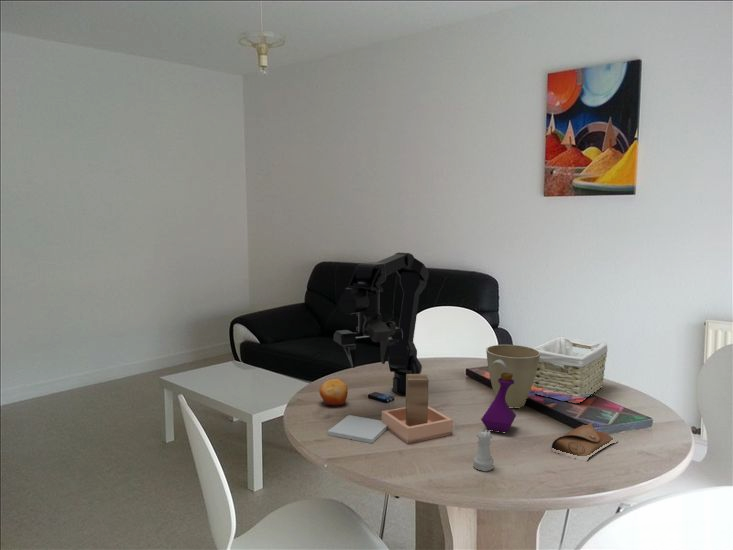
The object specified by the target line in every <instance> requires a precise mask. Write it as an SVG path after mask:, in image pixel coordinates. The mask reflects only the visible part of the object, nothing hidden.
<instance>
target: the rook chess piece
mask: <svg viewBox="0 0 733 550" xmlns="http://www.w3.org/2000/svg"><path fill="white" fill-rule="evenodd" d="M491 432H492V431H489V430H488V429H479V430H478V433H477V434H476V437H477V439H478V441H477V444H478V445H477V453H476V454H475V456H474V457H473V464H472V465H473V467H474V468H475V470H477V469H478V471H479V470H482V471H481V472H489V471H488V470H490V471H492V470H493V469H494V467H495V466H494V463H495V462H494V459H493V457H492V455H491V440H492V438H493V435H492V433H491ZM491 469H492V470H491Z"/></svg>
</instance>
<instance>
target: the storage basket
mask: <svg viewBox="0 0 733 550" xmlns="http://www.w3.org/2000/svg"><path fill="white" fill-rule="evenodd" d="M574 347H575V348H580V349H585V350H586V349H587V350H590V351H589V352H588V353H586V354H585V353H584V354H583V353H579V352H574V351H573V348H574ZM532 348H533V349H535V350H538V351H539V352H540V358H539V363H538V367H537V371H536V375H535V378H534V382H533V385H532V386H533V388H534V387H536V388H542V389H544V390H549V391H553V392H558V393H563V394H567V395H573V396H576V397H581V395H585V394H590V393H591V394H593V393H594V392H595V393H597V392H598V391H599V390H600V388H601V386H602V387H604V386H605V385H604V379H605V377H604V376H605V370H606V361H607V359H606V358H607V355H608V354H607V353H608V345H607V343H605V342H599V341H595V340H594V341H593V340H588V339H587V340H586V339H582V338H581V339H580V338H573V337H566V336H558V337H556V338H553V339H551V340H548V341H547V342H544V343H542V344H540V345H537V346H535V347H532ZM601 389H602V388H601ZM597 390H598V391H597ZM595 393H594V394H595ZM594 394H593V395H594Z"/></svg>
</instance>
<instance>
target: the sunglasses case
mask: <svg viewBox="0 0 733 550" xmlns="http://www.w3.org/2000/svg"><path fill="white" fill-rule="evenodd" d="M589 421H590V422H589ZM589 421H588V422H589V423H590V424H588V425H584V424H582V425H580V426H578V427H576V428H574V429H572V430H570V431H569V432H567V433H564V434H563V435H560V436H559V437H558V438H555V440H554V441H553V442H552V444H551V449H552V448H554V449H556V450H560V451H562V452H566V453H570V454H573V455H577V456H587V455H590V454H591V453H593V452H594V451H595V450H597V449H599V448H600V447H602V446H603V445H605V444H607V443H609V442H610V441H611V440H613V437H612V436H611V435H609V434H607V433H606V432H605V431H603V432H596V431H595V429H594V427H593V426H592V424H593V423H592V420H589ZM591 423H592V424H591ZM604 432H605V433H604Z"/></svg>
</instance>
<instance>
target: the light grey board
mask: <svg viewBox="0 0 733 550" xmlns="http://www.w3.org/2000/svg"><path fill="white" fill-rule="evenodd" d="M386 431H388V430H387V425H386V424H384V423H383V422H382V420H379V419H373V418H368V417H362V416H357V415H350V414H348V415H347V416H345V418H343V419H341V420H340V421H339V422H338V423H336V424H335V425H334V426H332V427H331V428H329V430H327V436H331V437H335V438H340V439H346V440H347V439H348V440H351V439H352V441H357V442H362V443H367V444H374V443H375V442H376V441H377V440H378V439H379V438H380V437H381V436H382V435H383V434H384V433H385V432H386Z"/></svg>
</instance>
